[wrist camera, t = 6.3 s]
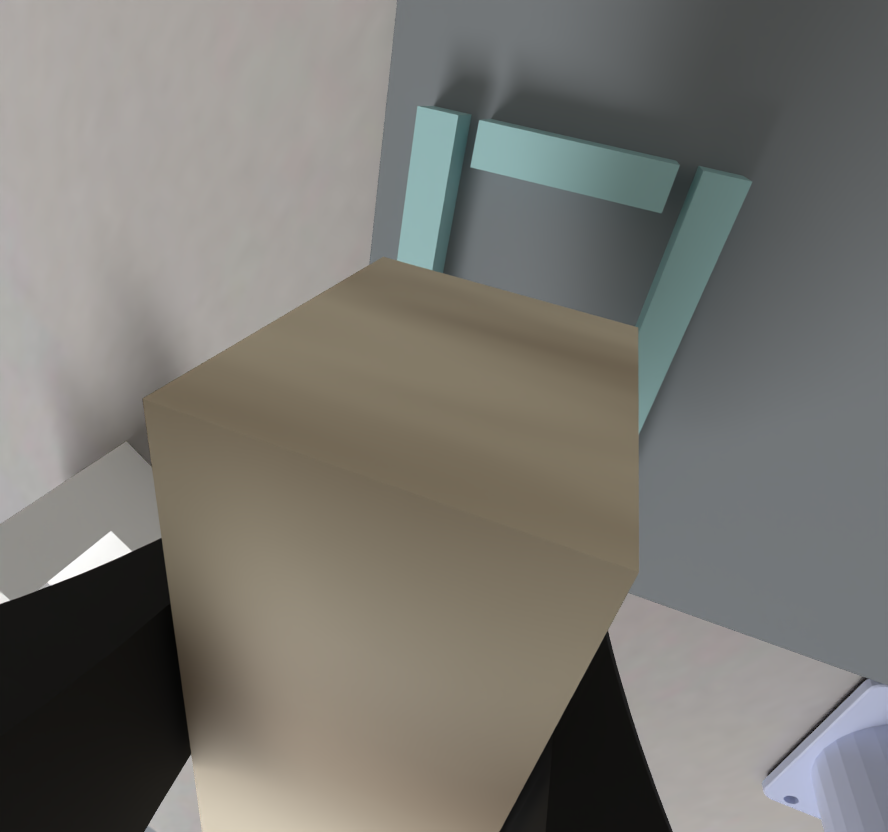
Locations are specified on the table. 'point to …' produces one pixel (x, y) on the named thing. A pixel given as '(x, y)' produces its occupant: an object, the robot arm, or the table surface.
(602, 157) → the teal frame
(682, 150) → the rubber mat
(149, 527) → the bracket
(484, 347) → the birch block
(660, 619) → the table surface
